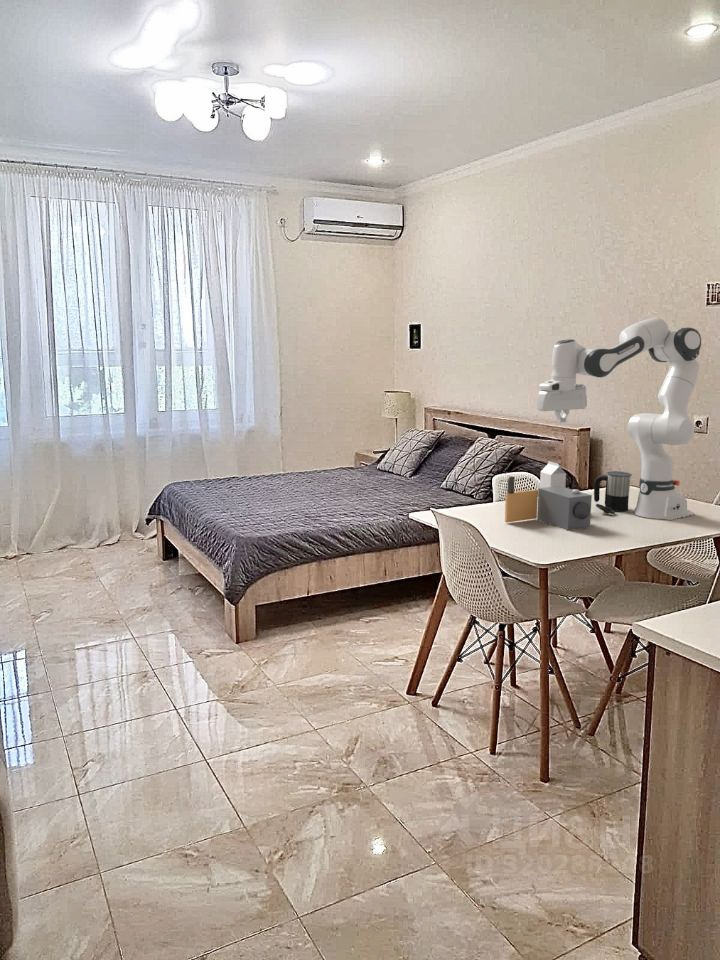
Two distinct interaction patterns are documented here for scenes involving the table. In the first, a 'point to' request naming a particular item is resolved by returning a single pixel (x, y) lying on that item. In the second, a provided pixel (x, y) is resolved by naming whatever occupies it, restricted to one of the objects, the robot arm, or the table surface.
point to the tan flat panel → (520, 503)
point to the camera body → (564, 507)
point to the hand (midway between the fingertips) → (561, 422)
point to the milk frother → (613, 491)
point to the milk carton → (552, 476)
